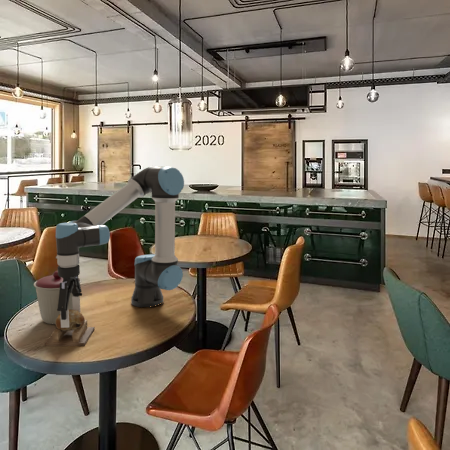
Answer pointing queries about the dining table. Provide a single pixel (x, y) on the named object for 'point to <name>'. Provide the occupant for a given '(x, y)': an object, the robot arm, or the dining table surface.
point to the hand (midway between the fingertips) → (71, 319)
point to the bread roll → (72, 321)
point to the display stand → (70, 336)
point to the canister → (50, 297)
